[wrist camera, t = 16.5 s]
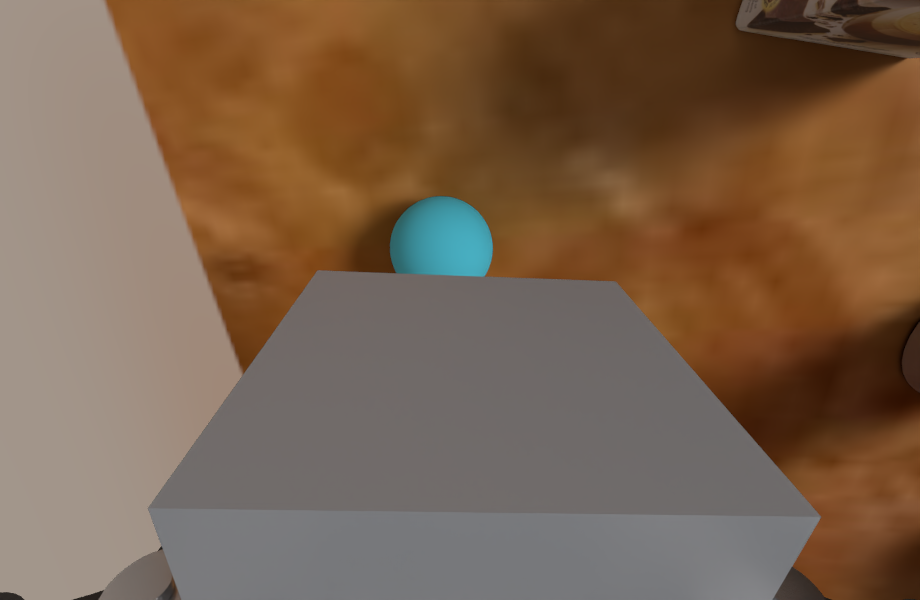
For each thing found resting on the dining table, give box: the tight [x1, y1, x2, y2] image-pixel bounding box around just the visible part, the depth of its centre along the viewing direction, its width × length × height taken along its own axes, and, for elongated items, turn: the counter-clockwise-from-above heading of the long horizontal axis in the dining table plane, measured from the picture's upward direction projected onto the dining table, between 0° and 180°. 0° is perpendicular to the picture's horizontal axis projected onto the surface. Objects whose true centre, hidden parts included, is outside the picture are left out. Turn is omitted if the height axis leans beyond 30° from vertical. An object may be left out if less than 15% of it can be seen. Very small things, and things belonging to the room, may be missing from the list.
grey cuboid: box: [148, 270, 821, 600], centre depth 9 cm, size 7×7×6 cm
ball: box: [390, 196, 493, 277], centre depth 22 cm, size 5×5×5 cm
